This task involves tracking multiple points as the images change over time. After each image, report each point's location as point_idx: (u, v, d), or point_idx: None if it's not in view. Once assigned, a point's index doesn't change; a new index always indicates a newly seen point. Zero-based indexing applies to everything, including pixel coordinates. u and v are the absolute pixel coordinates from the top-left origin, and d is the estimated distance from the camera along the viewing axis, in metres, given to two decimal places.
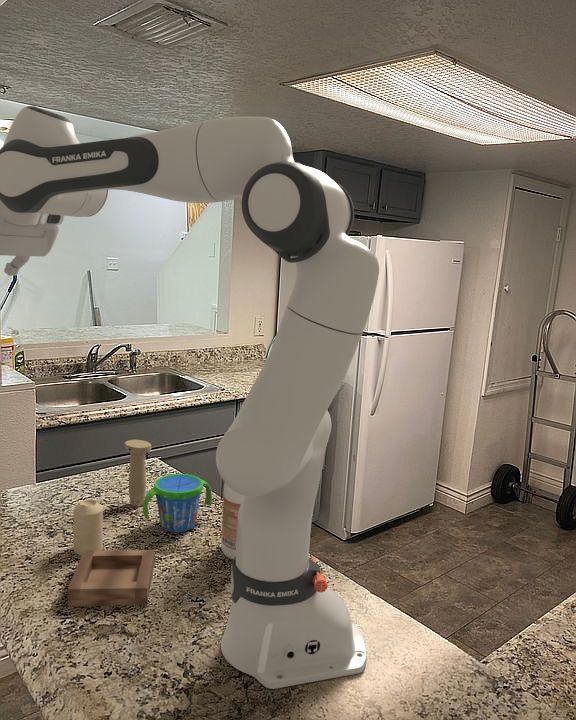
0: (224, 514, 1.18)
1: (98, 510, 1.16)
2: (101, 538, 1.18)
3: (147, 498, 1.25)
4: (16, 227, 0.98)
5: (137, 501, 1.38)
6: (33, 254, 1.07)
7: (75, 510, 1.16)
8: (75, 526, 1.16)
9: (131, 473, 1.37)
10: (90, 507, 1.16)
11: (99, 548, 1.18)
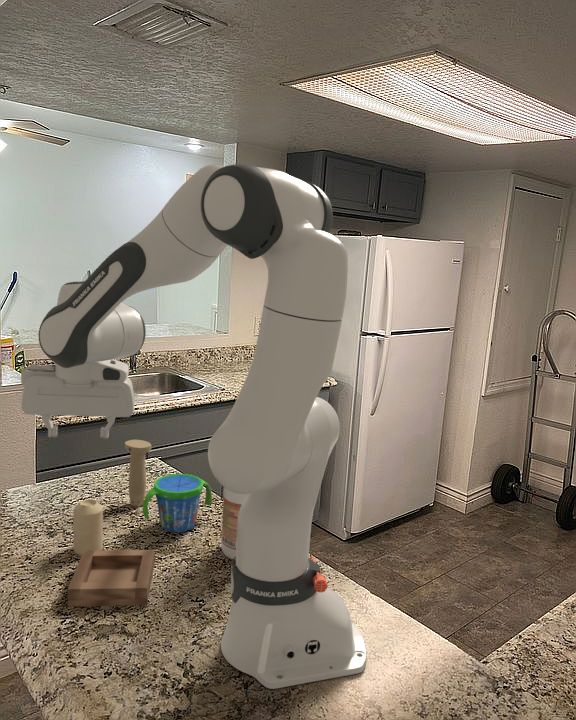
0: (224, 514, 1.18)
1: (98, 510, 1.16)
2: (101, 538, 1.18)
3: (147, 498, 1.25)
4: (72, 385, 1.09)
5: (137, 501, 1.38)
6: (113, 414, 1.13)
7: (75, 510, 1.16)
8: (75, 526, 1.16)
9: (131, 473, 1.37)
10: (90, 507, 1.16)
11: (99, 548, 1.18)
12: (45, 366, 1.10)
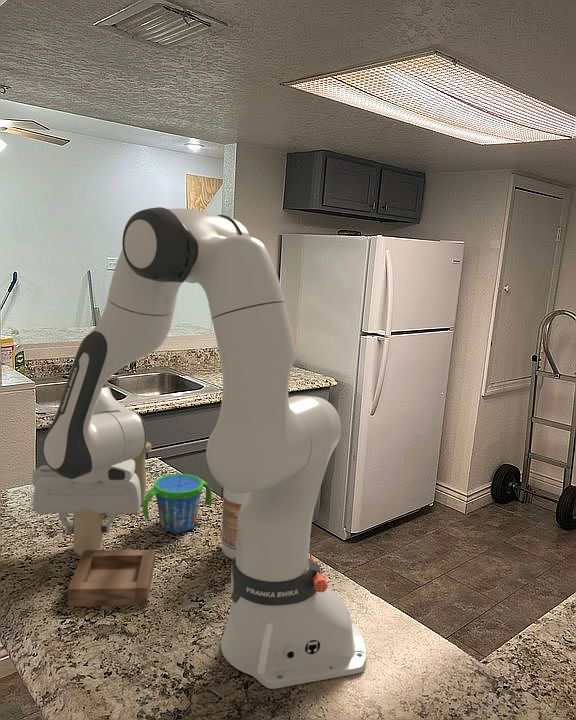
0: (224, 514, 1.18)
1: None
2: (101, 538, 1.18)
3: (147, 498, 1.25)
4: (79, 486, 1.13)
5: None
6: (120, 511, 1.16)
7: None
8: (75, 526, 1.16)
9: None
10: None
11: (99, 548, 1.18)
12: None
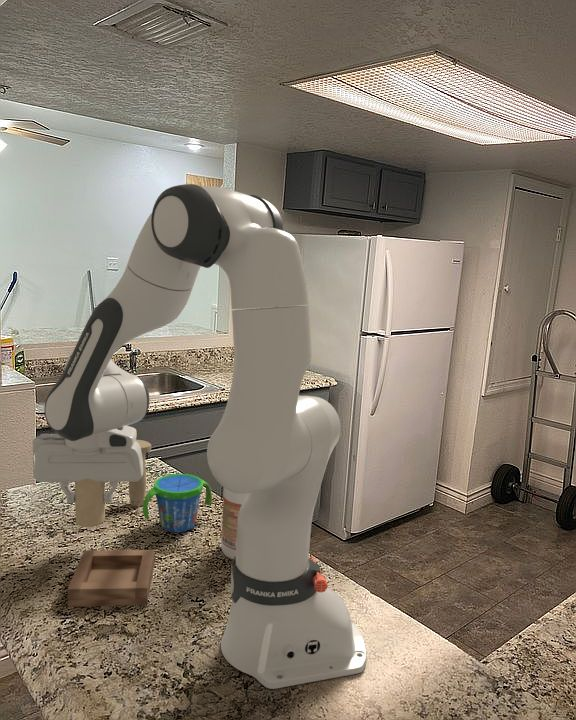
0: (224, 514, 1.18)
1: None
2: (103, 509, 1.17)
3: (147, 498, 1.25)
4: (80, 453, 1.12)
5: (137, 501, 1.38)
6: (122, 479, 1.15)
7: None
8: (77, 497, 1.14)
9: None
10: None
11: (101, 519, 1.16)
12: (55, 434, 1.13)
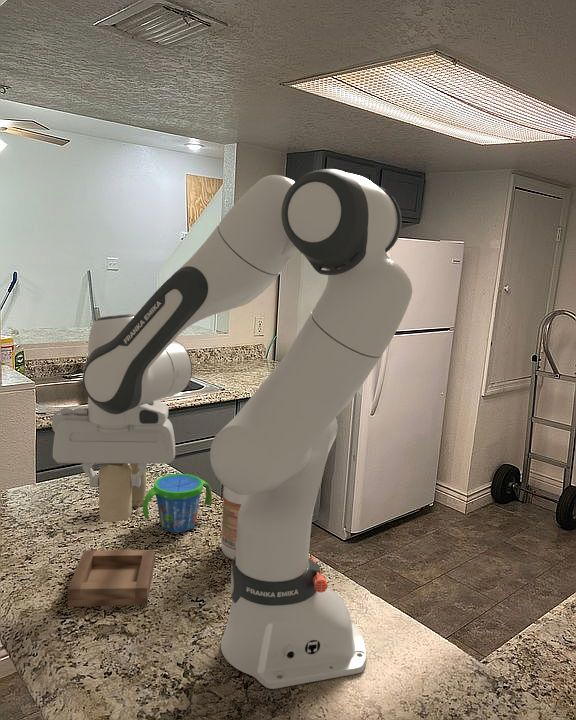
0: (224, 514, 1.18)
1: (127, 470, 1.02)
2: (130, 502, 1.04)
3: (147, 498, 1.25)
4: (106, 431, 0.99)
5: (137, 501, 1.38)
6: (152, 461, 1.02)
7: (101, 471, 1.01)
8: (101, 489, 1.01)
9: None
10: (118, 467, 1.01)
11: (128, 513, 1.04)
12: (77, 409, 1.00)
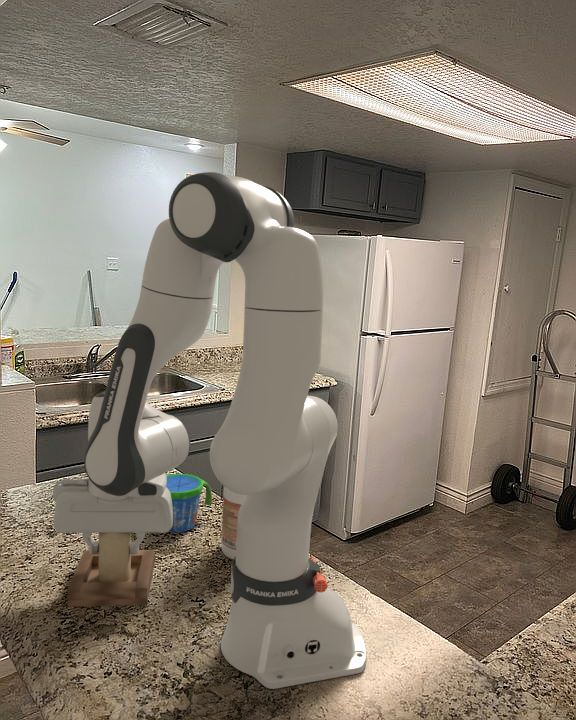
0: (224, 514, 1.18)
1: (127, 534, 1.05)
2: (129, 565, 1.06)
3: None
4: (106, 502, 1.01)
5: None
6: (150, 530, 1.04)
7: (101, 535, 1.04)
8: (101, 553, 1.04)
9: None
10: None
11: (127, 576, 1.06)
12: (78, 480, 1.02)
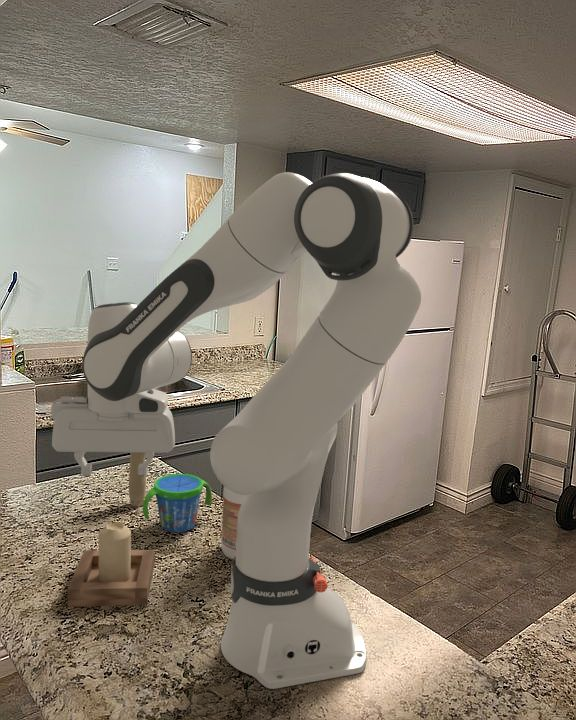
0: (224, 514, 1.18)
1: (127, 534, 1.05)
2: (129, 565, 1.06)
3: (147, 498, 1.25)
4: (106, 419, 0.98)
5: (137, 501, 1.38)
6: (151, 450, 1.01)
7: (101, 535, 1.04)
8: (101, 553, 1.04)
9: (131, 473, 1.37)
10: (118, 531, 1.04)
11: (127, 576, 1.06)
12: (77, 398, 1.00)
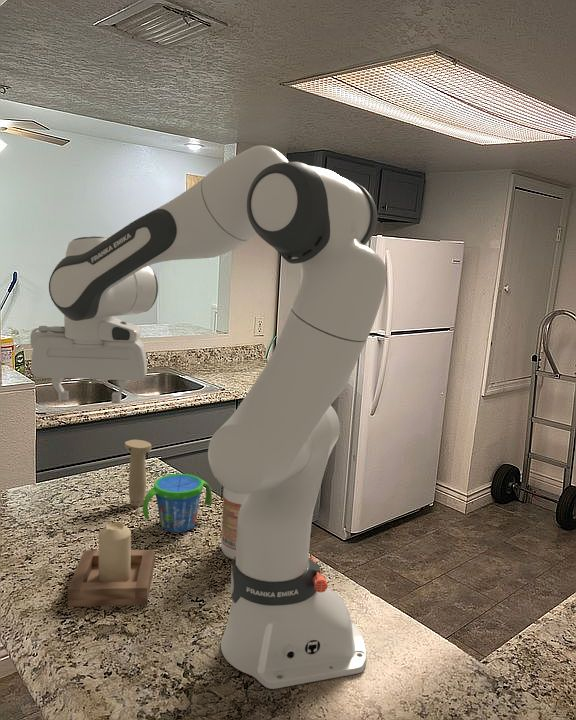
0: (224, 514, 1.18)
1: (127, 534, 1.05)
2: (129, 565, 1.06)
3: (147, 498, 1.25)
4: (81, 346, 1.05)
5: (137, 501, 1.38)
6: (124, 377, 1.08)
7: (101, 535, 1.04)
8: (101, 553, 1.04)
9: (131, 473, 1.37)
10: (118, 531, 1.04)
11: (127, 576, 1.06)
12: (54, 327, 1.07)
